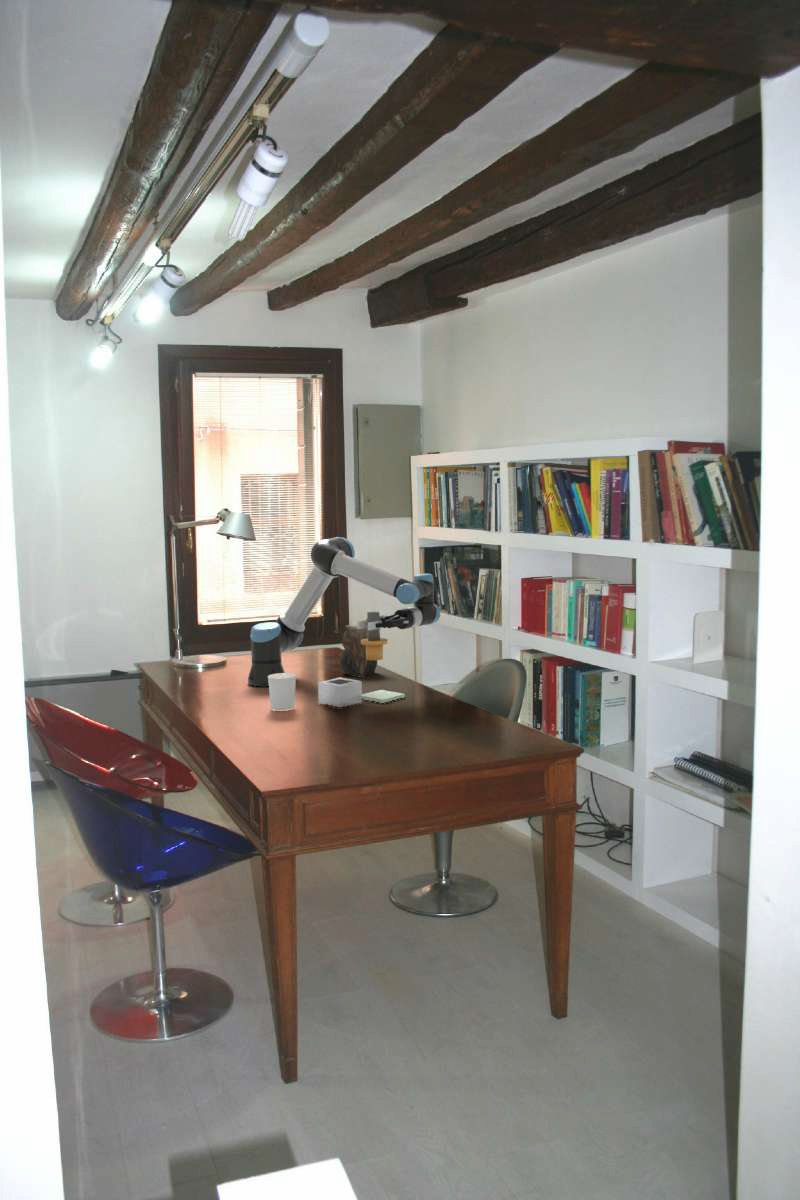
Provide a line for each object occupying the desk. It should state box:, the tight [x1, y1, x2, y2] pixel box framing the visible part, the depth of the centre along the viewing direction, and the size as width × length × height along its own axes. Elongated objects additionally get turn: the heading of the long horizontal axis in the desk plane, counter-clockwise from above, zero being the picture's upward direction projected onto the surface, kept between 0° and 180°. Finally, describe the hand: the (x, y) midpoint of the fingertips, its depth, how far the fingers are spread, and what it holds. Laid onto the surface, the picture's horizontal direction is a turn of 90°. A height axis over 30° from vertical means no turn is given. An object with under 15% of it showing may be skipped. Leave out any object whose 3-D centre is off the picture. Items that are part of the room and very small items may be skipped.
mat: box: [362, 689, 406, 704], centre depth 383 cm, size 12×12×2 cm
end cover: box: [361, 611, 388, 661], centre depth 378 cm, size 10×10×17 cm
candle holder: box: [268, 672, 297, 710], centre depth 368 cm, size 10×10×12 cm
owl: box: [340, 624, 378, 678], centre depth 429 cm, size 13×13×20 cm
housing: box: [317, 677, 363, 707], centre depth 375 cm, size 11×11×8 cm
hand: (363, 625), depth 374 cm, fingers closed on end cover, 4 cm apart
